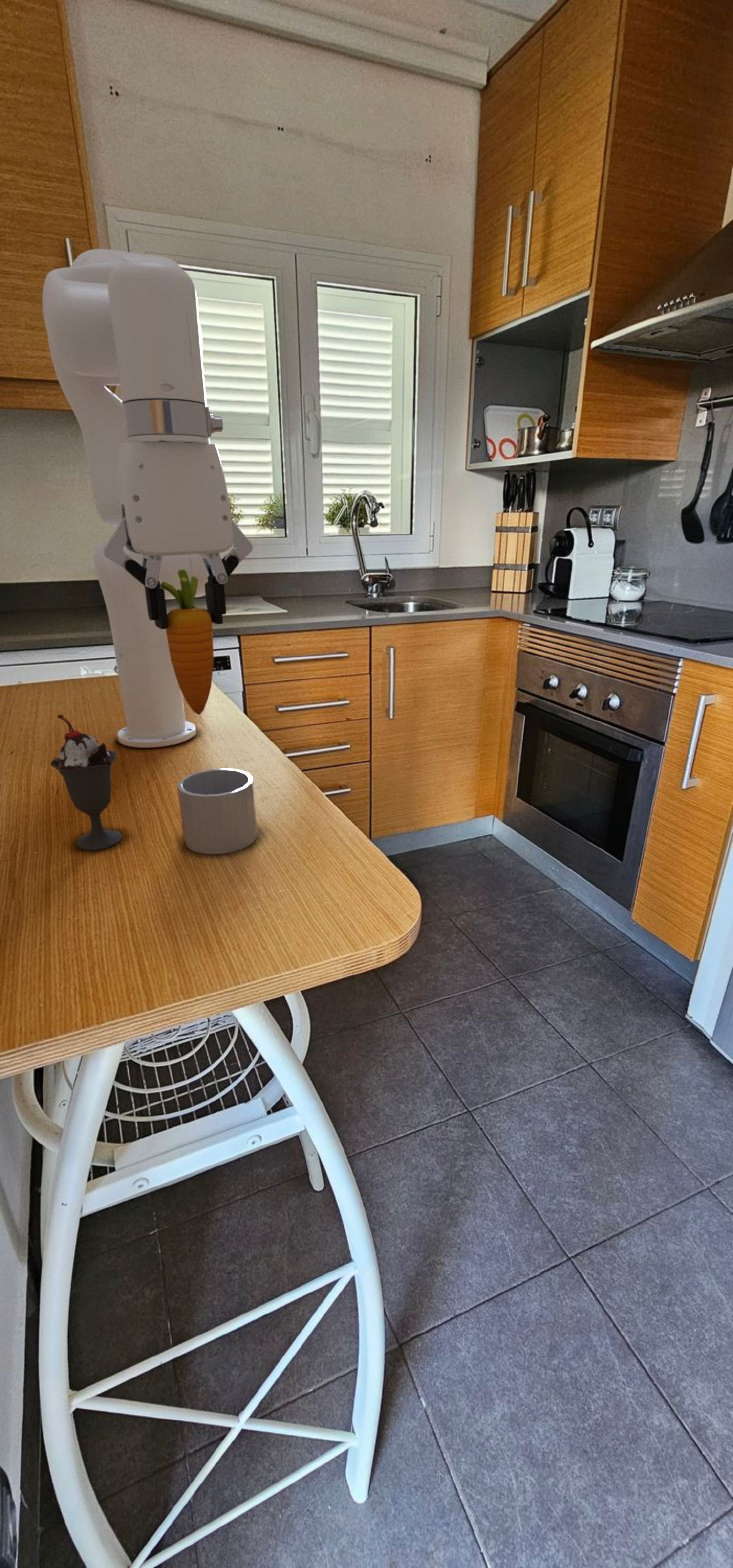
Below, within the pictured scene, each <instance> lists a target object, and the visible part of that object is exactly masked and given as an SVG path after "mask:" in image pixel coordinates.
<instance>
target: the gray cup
mask: <svg viewBox="0 0 733 1568" xmlns="http://www.w3.org/2000/svg"><path fill="white" fill-rule="evenodd" d="M176 789H177V797H178V804H179V811H180V813H179V814H180V819H181V828H182V836H183V839H184V844H185V846H186V847H187V848H188V849H189V850H191V851H192V852H196V853H198V854H202V855H225V854H230V853H235V852H238V851H241V850H243V849H245V848H247V847H249V846H250V845H252V844H253V843H254V842H256V840H257V838H258V823H257V810H256V809H257V808H256V797H255V796H256V795H255V785H254V777H253V776H252V775H251V774H250V773H249V772H248V771H244V770H241V769H236V768H226V767H225V768H209V769H205V770H199V771H196V772H194V773H191V774H187V775H186V776H184V777H183V778H181V779H180V780H179V781H178V783H177V785H176Z"/></svg>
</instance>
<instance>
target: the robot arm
mask: <svg viewBox="0 0 733 1568" xmlns="http://www.w3.org/2000/svg"><path fill="white" fill-rule="evenodd" d="M41 304H42V316H43V321H44V326H45V330H46V333H47V342H48V348H49V353H50V358H51V362H52V366H53V369H54V371H55V375H56V378H57V380H58V383H59V386H60V388H61V391H62V392H63V394H64V396H65V398H66V401H67V403H68V404H69V406H70V408H71V410H72V412H73V414H74V416H75V418H76V421H77V423H78V426H79V428H80V431H81V435H82V439H83V446H84V451H85V457H86V463H87V468H88V474H89V478H90V485H91V491H92V495H93V500H94V504H95V508H96V511H97V514H98V515H99V517H100V519H101V520H102V521H103V522H104V523H105V524H106V525H108V526H112V527H114V528H115V530H114V532H113V533H112V535H111V536H110V537H109V538H107V539H104V540H103V541H101V542H100V543H99V544H97V547H96V549H95V551H94V555H93V556H94V557H93V561H94V568H95V572H96V576H97V579H98V582H99V586H100V589H101V593H102V596H103V599H104V603H105V606H106V611H107V615H108V620H109V627H110V632H111V637H112V644H113V649H114V650H113V651H114V656H115V662H116V663H115V664H116V668H117V675H118V684H119V689H120V695H121V702H122V709H123V716H124V722H125V726H124V727H122V728H121V729H120V730H118V732H117V741H118V743H120V744H121V745H123V746H127V747H129V748H130V747H131V748H137V749H138V748H139V749H140V748H141V749H142V748H144V749H145V748H146V749H148V748H151V749H152V748H162V747H168V746H173V745H177V744H181V743H184V742H187V741H188V740H191V739H192V738H193V737H194V736H196V734H197V727H196V725H195V723H193V722H191V721H188V720H186V716H185V715H186V714H185V706H184V696H183V694H182V692H181V690H180V688H179V685H178V682H177V679H176V676H175V672H174V669H173V665H172V662H171V657H170V651H169V646H168V639H167V633H166V629H167V627H168V617H167V614H168V611H167V603H166V602H167V600H176V598H175V597H174V596H173V595H172V594H171V593H170V592H169V591H167V590H165V589H163V588H161V586H160V585H161V583H162V582H166V583H168V584H170V585H172V586H173V587H174V588H175V589H176V590H178V589H181V583H180V578H179V575H178V571H179V570H185V571H186V572H187V575H188V577H189V580H190V584H191V577H192V576H195V577H196V578H197V579H198V583H197V590H196V594H195V598H200V597H204V596H205V603H206V604H205V605H206V610H207V611H209V612H210V615H211V619H212V624H213V623H214V624H215V625H223V623H224V618H223V615H226V614H227V603H226V592H225V584H226V583H227V582H228V580H229V579H228V578H229V577H230V576H231V575H232V573H233V572H234V571H235V570H236V569H237V567H238V566H239V565H240V563H242V561H243V560H244V559H245V558H246V557H247V556H249V554H250V553H251V552H252V551H253V549H254V546H253V544H252V543H251V541H250V540H249V539H248V537H247V536H246V535H245V534H244V532H243V531H242V530H241V529H240V528H239V527H238V525H237V524H236V523H235V521H233V519H232V513H231V505H230V500H229V492H228V488H227V482H226V478H225V473H224V469H223V464H222V461H221V458H220V453H219V450H218V446H217V444H216V443H211V442H210V441H211V440H210V439H211V438H212V434H215V433H221V432H223V429H224V423H223V418H222V417H221V416H217V415H214V414H211V412H210V408H209V407H210V406H207V396H206V395H207V394H206V385H205V373H204V363H203V352H204V351H203V349H204V347H203V344H204V343H203V342H204V341H203V334H202V333H203V332H202V326H201V322H200V319H199V307H198V297H197V290H196V286H195V284H194V281H193V279H192V278H191V275H189V274H188V272H186V271H185V270H184V269H183V268H182V267H181V266H180V264H178V263H177V262H176V261H175V260H174V259H172V258H170V257H166V256H162V255H155V254H146V253H138V252H130V251H121V250H117V249H116V250H115V249H107V248H93V249H88V250H86V251H84V252H82V253H80V254H79V255H77V257H76V258H75V259H74V261H73V262H72V264H71V266H67V267H60V268H56V269H52V270H51V271H49V272H48V273H47V275H46V276H45V279H44V283H43V288H42V303H41ZM107 386H111V387H112V386H113V387H114V386H115V387H120V388H119V389H120V394H121V399H120V397H118V396H117V395H116V394H115V393H114V392H112V391H111V390H110V389H109V388H108V387H107ZM230 549H231V550H230ZM228 550H229V552H228V553H227V554H225V555H223V557H221V553H225V552H227V551H228ZM181 590H182V589H181Z"/></svg>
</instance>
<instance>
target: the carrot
mask: <svg viewBox="0 0 733 1568" xmlns="http://www.w3.org/2000/svg"><path fill="white" fill-rule="evenodd" d="M178 575H179V578H180V583H181V589H182V590H181V589H178V590H176V589H175V588H174V587H173V586H172V585H170V584H168V583H166V582H162V583H161V585H160V586H161V588H163V589H165V590H167V591H169V592H170V593H171V594H172V595H173V596H174V597H175V598H176V599H175V600H176V602H177V603H178V605H179V607H178V606H177V607H174V608H172V609H170V610H169V611H167V617H168V627H167V629H166V633H167V639H168V646H169V651H170V657H171V662H172V665H173V669H174V672H175V676H176V679H177V682H178V685H179V688H180V690H181V692H182V696H183V699H184V700H185V702H186V703H187V704H188V706H189V707H190V709H191V710H192V712H194V713H195V714H196V715H198V716H199V715H201V714H202V713H203V712H204V710H205V708H206V705H207V703H208V701H209V697H210V693H211V689H212V685H213V683H212V682H213V672H214V658H215V657H214V656H215V655H214V632H213V622H212V619H211V615H210V612H209V611H207V608H205V607H201V606H194V605H195V604H194V602H195V598H196V597H195V594H196V590H197V583H198V579H197V578H196V577H195V576H192V577H191V584H190V580H189V577H188V575H187V572H186V571H185V570H179V571H178Z"/></svg>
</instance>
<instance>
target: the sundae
mask: <svg viewBox="0 0 733 1568" xmlns="http://www.w3.org/2000/svg"><path fill="white" fill-rule="evenodd" d="M57 718H58V719H60V720H61V721H63V722H65V723H66V724H67V727H68V732H67V733H65V734H64V735H63V736H64V740H65V743H64V744H63V745H62V746H61V747H60V750H59V753H58V755H59V756H58V757H56V758H54V759H52V760H51V762H50V766H51V767H53V768H55V769H56V770H57V771H59V773H60V775H61V776H62V778H63V781H64V784H65V786H66V790H67V793H68V795H69V798H70V800H71V802H72V805H73V806H74V808H76V809H77V810H78V811H79V812H80V813H83V814H85V815H86V816H87V815H88V816H89V821H90V832H87V833H85V834H84V835H82V836H80V837H79V838H78V839H77V840H76V843H75V844H76V845H75V846H76V847H77V848H79V849H81V850H83V851H100V850H104V849H108V848H111V847H114V846H115V845H117V844H119V843H120V842H121V840H122V838H123V835H122V833H121V832H119V831H118V830H114V829H105V827H104V825H103V822H102V817H101V813H102V812H103V811H104V810H106V809H107V807H108V805H110V802H111V801H112V764H113V763H114V762H115V760H116V758H117V752H116V751H114V750H107V745H106V743H104V742H103V743H101V744H99V741H98V740H97V739H96V738H94V737H93V736H92V735H90V734H87V733H82V732H80V731H79V730H77V729H74V728H73V726H72V724H71V723H70V721H69V720H68V719H67V718H66V717H64V714H58V715H57Z"/></svg>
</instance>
